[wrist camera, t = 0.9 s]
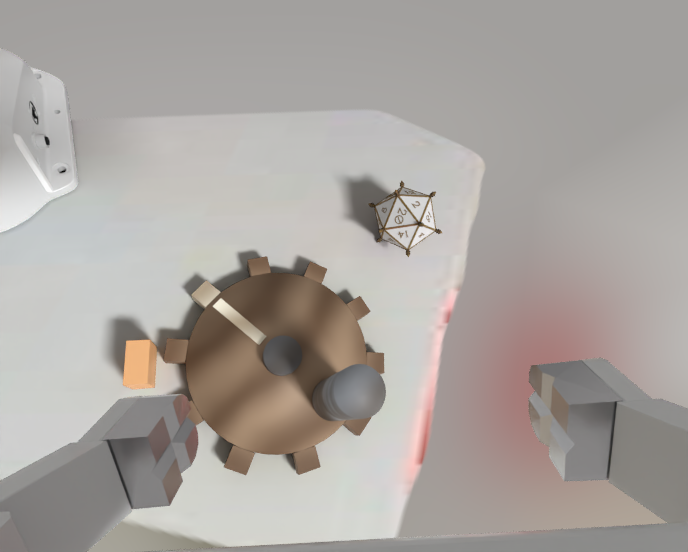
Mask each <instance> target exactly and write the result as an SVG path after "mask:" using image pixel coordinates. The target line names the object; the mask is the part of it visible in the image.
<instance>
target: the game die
mask: <svg viewBox="0 0 688 552" xmlns="http://www.w3.org/2000/svg"><path fill="white" fill-rule="evenodd" d="M400 186H401V188H399V189H398V190H395V192H394V193H392V194H391V195H389V196H388V197H386V198H385V199H383V200H382V201H381V202H379V203H378V204H376V205H374V203H369V206H370V207H374V208H375V213H376V218H377V222H378V227H379V232H380V236H381V238H379V239H377V242H381V241H382V239H383V240H385V241H388V242H390V243H392V244H394V245H396V246H399V247H401V248H403V249H405V250H406V255H407V256H408V257H409V255H410V251H409V250H410V249H411V248H412V247H414V246H415V245H417V244H418V243H419V242H421V241H422V240H424V239H425V238H426V237H428V236H429V235H431V234H432V233H433V232H436V233H438V234H440V233H442V232H441V230H439V229H436V226H435V219H434V213H433V207H432V201H431V197H433V196H435V193H436V192H432V193H430V195H426V194H423V193H420V192H417V191H414V190H411V189H408V188H405V187H404V183H403V182H402V181H401V183H400Z"/></svg>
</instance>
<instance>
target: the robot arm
mask: <svg viewBox="0 0 688 552" xmlns="http://www.w3.org/2000/svg"><path fill="white" fill-rule="evenodd" d="M38 78H40V79H38ZM63 170H66V172H64V173H60V172H61V171H63ZM77 185H78V175H77V167H76V158H75V150H74V142H73V133H72V125H71V117H70V108H69V100H68V92H67V89H66V86H65V85H64V83H63V82H62V81H61V80H60V79H58V78H57V77H55V76H53V75H51V74H49V73H47V72H44V71H42V70H39V69H36V68H32V67H29V65H28V64H27V63H26V62H25V61H24V60H23V59H22V58H20V57H19V56H17V55H16V54H14V53H12V52H10V51H7V50H5V49H3V48H0V232H3V231H6V230H8V229H11V228H13V227H15V226H17V225H19V224H21V223H22V222H24V221H26V220H27V219H29V218H30V217H31V216H33V215H34V214H35V213H36V212H37V211H38V210H39V209H41V208H42V207H43V206H44V205H45V204H46V203H48V202H49V201H50V200H52V199H55V198H57V197H60V196H62V195H64V194H67V193H69V192H70V191H72V190H74V189H75V188H76V187H77ZM529 383H530V384H531V385H532V387H533V388H534V390H535V391H534V393H533V394H532V395H531V396H530V398H529V415H530V420H531V425H532V427H533V430H534V432H535V434H536V436H537V438H538V439H539V441H540V442H542V443H543V444H545V445H547V446H549V457H550V459H551V461H552V462H553V464H554V465H555V467H556V468H557V470H558V472H559V474H560V475H561V477H562V478H563V480H564V481H586V480H609V482H610V483H611V484H613V485H614V486H615V487H617V488H618V489H620V490H621V491H623V492H624V493H626V494H627V495H629V496H630V497H631V498H633V499H634V500H636V501H637V502H638V503H640V504H641V505H643V506H644V507H646V508H647V509H649V510H650V511H651V512H653V513H654V514H656V515H657V516H659V517H660V518H661V519H663V520H664V521H666V522H667V523H666V524H649V525H632V526H613V527H595V528H575V529H558V530H557V529H556V530H537V531H519V532H501V533H481V534H462V535H443V536H424V537H406V538H387V539H369V540H351V541H333V542H315V543H297V544H278V545H259V546H240V547H222V548H203V549H184V550H166V551H146V552H688V408H685V407H682V406H679V405H677V404H674V403H671V402H669V401H666V400H663V399H652V398H650V397H649V396H648V395H647V394H646V393H645V392H644V391H642V390H641V389H640V388H639V387H638V386H637V385H635V384H634V383H633V382H632V381H631V380H629V379H628V378H627V377H626V376H625V375H624V374H622V373H621V372H620V371H619V370H618V369H617V368H615V367H614V366H613V365H612V364H610V362H608V361H607V360H605V359H603V358H594V359H586V360H578V361H569V362H560V363H551V364H542V365H533V366H531V369H530V372H529ZM190 410H191V407H190V404H189V401H188V398H187V397H186V396H185V395H184V394H171V395H155V396H144V397H143V396H137V397H127V398H122V399H119V400H118V401H117V402H116V403H115V404H114V405H113V406H112V407H111V408H110V409H109V410H108V411H107V412H106V413H105V414H104V415H103V416H102V417H101V418H100V419H99V420H98V421H97V423H96V424H95V425H94V426H93V427H92V428H91V429H90V430H89V431H88V432H87V433H86V434H85V435H84V436H83V437H82V438H81V439H80V440H79V441H78V442H77V443H70V444H68V445H66V446H64V447H62V448H60V449H59V450H57V451H55V452H53V453H51V454H49V455H47V456H45V457H44V458H42V459H40V460H38V461H36V462H34V463H32V464H31V465H29V466H27V467H25V468H23V469H21V470H19V471H17V472H16V473H14V474H12V475H10V476H8V477H6V478H4V479H3V480H1V481H0V552H87V551H88V550H89V549H91V548H92V547H93V546H94V545H95V544H96V543H97V542H98V541H99V540H101V539H102V538H103V537H104V536H105V535H106V534H107V533H108V532H109V531H111V530H112V529H113V528H114V527H115V526H116V525H117V524H118V523H119V522H121V521H122V520H123V519H124V518H125V517H126V516H127V515H128V514H129V513H131V512H132V509H139V508H150V507H161V506H170V504H171V502H172V500H173V499H174V497H175V495H176V493H177V491H178V489H179V487H180V486H181V484H182V482H183V480H182V476H181V473H182V472H183V471H185V470H186V469H187V468H189V467H190V466H191V465H192V463H193V461H194V459H195V457H196V453H197V448H198V432H197V428H196V425H195V424H194V423H193V422H192V421H191V420H190V419H189V418H188V417H187V416H188V414H189V412H190Z"/></svg>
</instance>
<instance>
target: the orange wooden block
mask: <svg viewBox="0 0 688 552" xmlns="http://www.w3.org/2000/svg"><path fill="white" fill-rule="evenodd" d="M156 357H157V347H156V346H155V345H154V344H153V342H152V341H151V340H132V341H126V352H125V364H124V377H123V385H124V386H126V387H129V388H131V389H142V388H155V375H156Z"/></svg>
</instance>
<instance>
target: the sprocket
mask: <svg viewBox="0 0 688 552" xmlns="http://www.w3.org/2000/svg"><path fill="white" fill-rule="evenodd" d="M247 266H248V271H249V275H250V277H249V278H246V279H244V280H241V281H239V282H237V283H235V284H233V285H231V286H230V287H228V288H227V289H225V290H224V291H222V292H220V291H219V290H217V289H216V288H215V287H214V286H213V285H211V284H210V283H209V282H208V281H207V280H206V281H205V282H204V283H203V284H202V285H201V286H200V287H199V288H198V289H197V290H196V291H195V292H194V293H193V294H192V295H191V296H192V299H193V300H194V301H195V302H196V303H198V304H199V305H200V306H201V307H202V308H204V309H205V310H204V311H203V312H202V314H201V315H200V317H199V318H198V320H197V322H196V324H195V326H194V328H193V331H192V334H191V336H190V339H189V340H184V339H169V338H167V343H166V349H165V355H164V360H163V361H164V362H165V363H175V364H186V377H187V382H188V387H189V391H190V394H191V397H192V399H193V401H192V400H191V401H190V402H189V404H190V407H191V410H190V412H189V414H188V416H187V417H188V418H189V419H190V420H191V421H192V422H193V423H194V424H195V425H198V424H199V423H201V422H202V421H204V420H205V421H206V423H207V424H208V425H209V426H210V427H211V428H212V429H213V430H214V431H215V432H216V433H217V434H218V435H220V436H221V437H223V438H224V439H225V440H227V441H228V442H230V443H232V444H234V445H233V446H232V449H231V451H230V453H229V456H228V458H227V461H226V463H225V465H224V467H225V468H227V469H230V470H233V471H236V472H239V473H241V474H244V475H246V474H247V472H248V469H249V467H250V464H251V462H252V459H253V457H254V454H255V453H254V452H256V453H261V454H274V455H278V454H289V453H292V456H293V460H294V464H295V468H296V473H297V474H299V475H300V474H303V473H305V472H308V471H311V470H314V469H316V468H319V467H320V463H319V459H318V455H317V451H316V447H315V445H316V444H318V443H320V442H322V441H324V440H325V439H327V438H328V437H329V436H331V435H332V434H333V433H335V432H336V431H337V430H338V429H339V428H340V427H341V426H342V425H344V426H345V427H346V428H347V429H348V430H350V431H351V432H352V433H353V434H354V435H359V436H360V434H361V433H362V431H363V430H364V428H365V427H366V425H367V424H368V422H369V420H370V419H371V417H372V416H373V415H375V414H376V413H377V412H378V411H379V410H380V409H381V407H382V406H383V403H384V401H385V395H386V390H385V384H384V381H383V379H382V377H381V376H380V374H382V373H384V353H375V352H366V346H365V341H364V337H363V334H362V331H361V328H360V326H359V324H358V322H357V321H358V320H359V319H361V318H362V317H364V316H365V315H367V314H368V313H369V312H370V310H369V308H368V307H367V306H366V304H365V303H364V301H363V300H362V298H361V297H360V296H359V297H357V298H356V299H354V300H353V301H351V302H349V303H348V304H345V303H344V302H343V300H342V299H341V298H339V297H338V296H337V295H336V294H335V293H334V292H333V291H331V290H330V289H328V288H327V287H326V286H324V285H322V281H323V279H324V276H325V274H326V271H327V269H326V268H324V267H322V266H319V265H317V264H315V263H312V262H310V263H309V265H308V267H307V270H306V272H305V274H304V277H303V276H300V275H295V274H289V273H271V270H270V266H269V262H268V259H267V257H261V258H255V259H249V260H248V262H247ZM235 445H236V446H235Z"/></svg>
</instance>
